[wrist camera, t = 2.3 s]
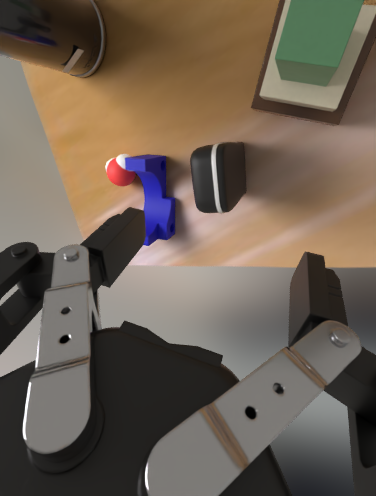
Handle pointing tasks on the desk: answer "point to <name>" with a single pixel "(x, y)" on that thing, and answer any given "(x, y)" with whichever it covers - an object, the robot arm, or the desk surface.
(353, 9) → the green block
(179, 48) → the desk surface
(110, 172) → the molecule
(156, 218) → the cable clip
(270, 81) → the cream block
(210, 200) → the battery charger
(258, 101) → the walnut base
